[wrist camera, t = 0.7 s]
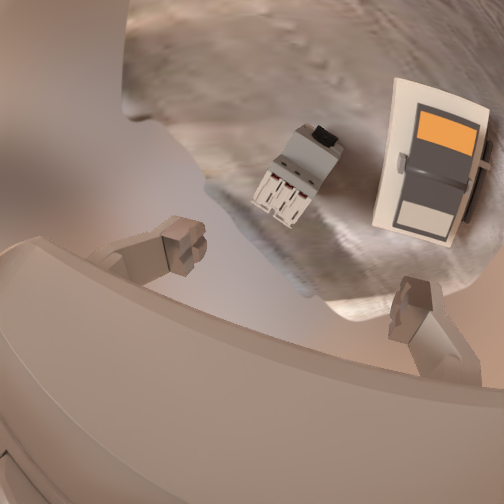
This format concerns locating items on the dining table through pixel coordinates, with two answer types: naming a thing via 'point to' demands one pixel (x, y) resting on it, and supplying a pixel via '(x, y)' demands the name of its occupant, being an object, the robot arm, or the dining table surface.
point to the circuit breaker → (298, 173)
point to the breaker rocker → (435, 172)
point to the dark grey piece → (484, 166)
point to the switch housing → (400, 143)
